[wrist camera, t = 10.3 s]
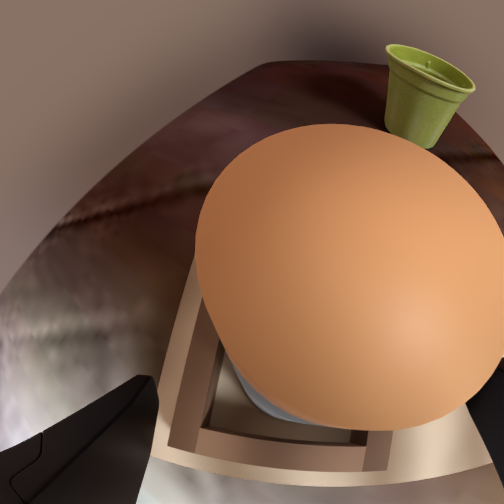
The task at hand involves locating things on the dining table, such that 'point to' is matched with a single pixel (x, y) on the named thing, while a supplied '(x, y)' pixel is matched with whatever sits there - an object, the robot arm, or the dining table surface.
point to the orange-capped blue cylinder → (352, 279)
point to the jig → (284, 425)
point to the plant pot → (422, 94)
